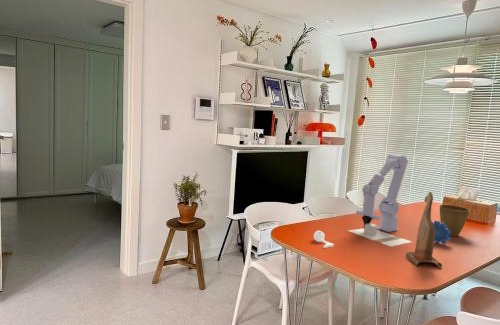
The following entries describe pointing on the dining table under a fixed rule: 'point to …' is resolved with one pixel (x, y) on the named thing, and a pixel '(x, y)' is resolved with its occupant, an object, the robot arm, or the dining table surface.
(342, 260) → the dining table surface
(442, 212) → the plant pot
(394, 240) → the subfloor board
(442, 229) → the grapes
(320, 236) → the figurine
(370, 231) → the cream white cube
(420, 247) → the bird sculpture
